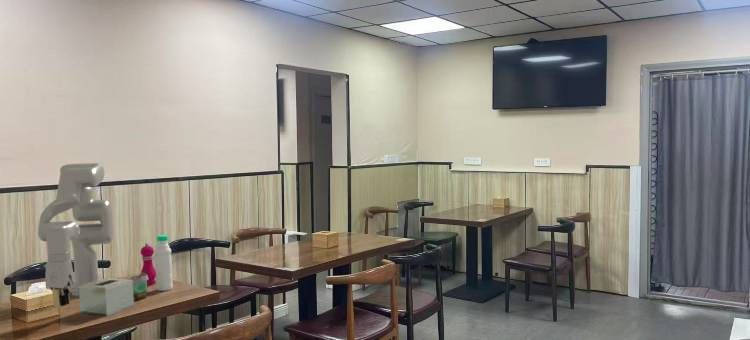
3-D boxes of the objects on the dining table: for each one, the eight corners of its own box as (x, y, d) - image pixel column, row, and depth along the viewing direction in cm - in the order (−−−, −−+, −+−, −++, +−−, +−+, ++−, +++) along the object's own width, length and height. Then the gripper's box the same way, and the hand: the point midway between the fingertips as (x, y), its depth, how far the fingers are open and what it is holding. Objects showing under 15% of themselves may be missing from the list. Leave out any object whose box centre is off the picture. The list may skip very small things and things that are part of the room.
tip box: (80, 312, 230) (79, 285, 229) (108, 303, 243) (107, 277, 242) (106, 315, 225) (105, 288, 224) (133, 306, 238) (132, 279, 237)
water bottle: (174, 287, 268) (172, 234, 267) (170, 291, 261) (167, 236, 260) (159, 287, 268) (157, 234, 267) (154, 291, 261) (151, 237, 260)
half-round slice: (138, 302, 243) (137, 279, 242) (125, 302, 244) (124, 279, 243) (155, 295, 255) (154, 272, 254) (142, 294, 256) (141, 272, 256)
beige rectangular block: (53, 307, 219) (52, 289, 218) (65, 303, 223) (64, 285, 223) (58, 307, 218) (57, 289, 217) (69, 304, 222) (68, 286, 222)
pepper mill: (151, 281, 281) (150, 241, 280) (159, 283, 276) (157, 242, 275) (137, 284, 275) (135, 243, 274) (145, 286, 271) (143, 244, 270)
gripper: (34, 258, 218) (38, 305, 220) (65, 260, 213) (68, 309, 214) (52, 253, 225) (55, 299, 227) (82, 256, 220) (85, 303, 221)
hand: (61, 304), depth 220 cm, fingers closed on beige rectangular block, 2 cm apart
